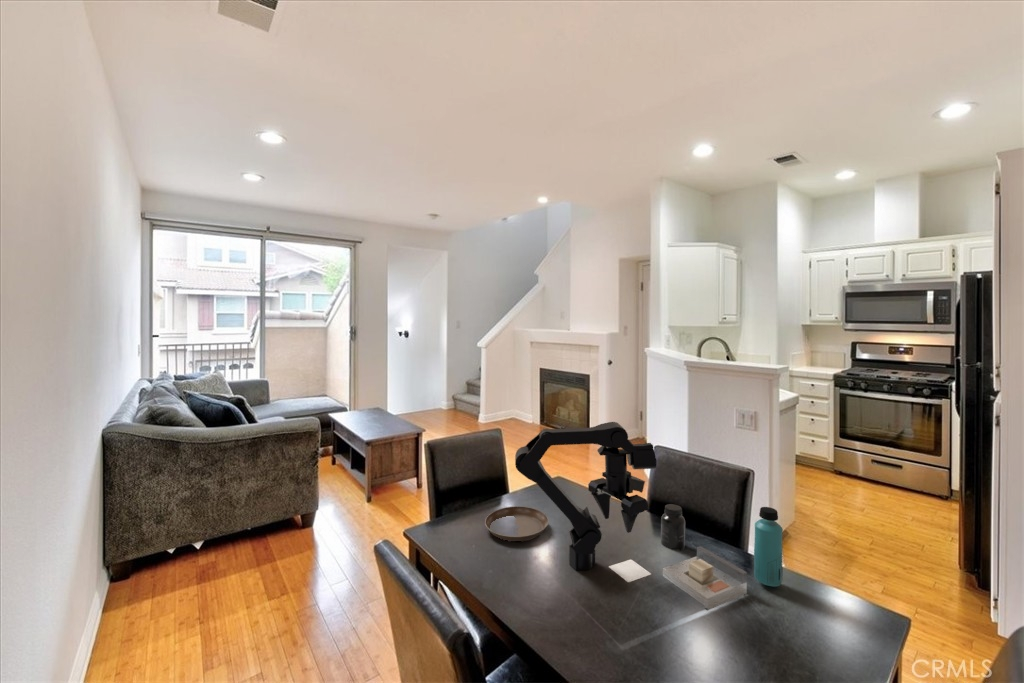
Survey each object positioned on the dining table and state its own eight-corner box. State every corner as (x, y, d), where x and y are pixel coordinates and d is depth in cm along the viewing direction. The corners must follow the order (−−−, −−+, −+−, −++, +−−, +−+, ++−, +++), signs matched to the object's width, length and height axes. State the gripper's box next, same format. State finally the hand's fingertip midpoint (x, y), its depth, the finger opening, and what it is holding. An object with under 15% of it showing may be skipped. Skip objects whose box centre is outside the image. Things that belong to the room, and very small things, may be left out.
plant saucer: (503, 552, 131) (503, 542, 130) (474, 524, 149) (474, 514, 148) (560, 535, 141) (560, 525, 140) (527, 510, 159) (527, 501, 158)
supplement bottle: (686, 553, 129) (687, 513, 128) (662, 550, 130) (662, 511, 130) (682, 541, 136) (683, 503, 135) (659, 539, 137) (659, 501, 136)
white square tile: (628, 585, 114) (628, 582, 114) (608, 569, 121) (608, 566, 121) (651, 577, 118) (651, 574, 118) (631, 562, 125) (631, 559, 125)
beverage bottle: (782, 595, 109) (784, 517, 108) (751, 587, 113) (753, 511, 112) (782, 582, 115) (784, 507, 114) (753, 574, 118) (755, 501, 117)
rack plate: (707, 610, 104) (707, 588, 104) (662, 578, 117) (663, 558, 116) (746, 593, 110) (747, 572, 110) (700, 565, 123) (700, 546, 123)
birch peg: (701, 594, 110) (702, 570, 110) (688, 585, 114) (689, 562, 114) (712, 589, 112) (713, 566, 112) (699, 581, 116) (700, 558, 115)
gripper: (663, 474, 116) (665, 532, 117) (617, 455, 132) (618, 506, 133) (630, 482, 111) (632, 543, 112) (586, 462, 127) (588, 514, 128)
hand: (617, 525), depth 121 cm, fingers open, 9 cm apart
